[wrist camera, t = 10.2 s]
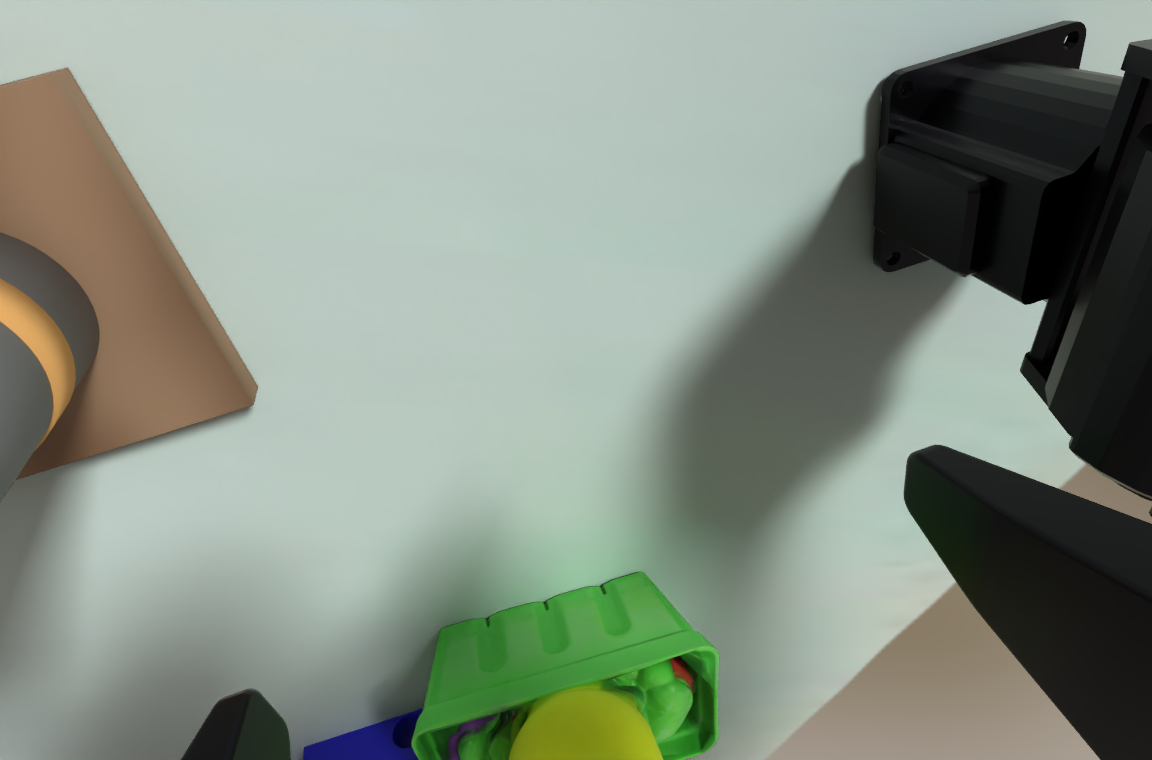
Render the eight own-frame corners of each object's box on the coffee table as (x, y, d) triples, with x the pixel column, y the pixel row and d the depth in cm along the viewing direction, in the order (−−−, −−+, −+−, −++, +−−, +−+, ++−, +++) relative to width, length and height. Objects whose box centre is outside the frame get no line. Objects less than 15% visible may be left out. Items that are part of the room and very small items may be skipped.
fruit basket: (442, 720, 31) (474, 1043, 22) (391, 597, 26) (404, 947, 17) (674, 648, 33) (794, 920, 24) (667, 519, 28) (814, 801, 19)
